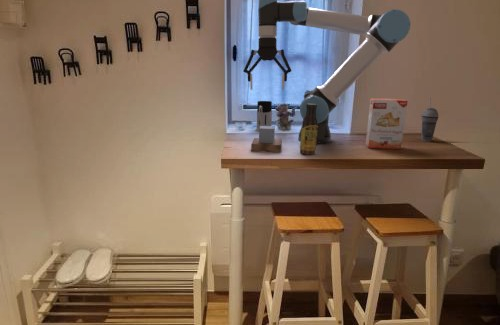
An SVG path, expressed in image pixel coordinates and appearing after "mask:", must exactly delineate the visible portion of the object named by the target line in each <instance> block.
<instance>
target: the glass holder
mask: <svg viewBox="0 0 500 325" xmlns="http://www.w3.org/2000/svg"><path fill="white" fill-rule="evenodd" d="M272 107H273V102H272V101H270V100H258V101H257V108H256V109H257V110H256V129H255V130H256V131H257V132H259V128H260V126H272V124H273V123H272V122H273V121H272V120H273V119H272V118H273V110H272V109H273V108H272Z"/></svg>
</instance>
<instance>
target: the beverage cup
mask: <svg viewBox="0 0 500 325" xmlns="http://www.w3.org/2000/svg"><path fill="white" fill-rule="evenodd" d="M428 99H429V101H428V102H429V104H428V107H427V108H425V109H424V110H423V111H422V114H421V132H420V134H421V139H420V140H421V141H422V142H426V143H427V142H429V143H430V142H433V137H434V133H435V130H436V125H437V123H438V119H439V112H438V109H436V108H434V107H431V103H432V102H431V100H432V98H431V97H429V98H428Z"/></svg>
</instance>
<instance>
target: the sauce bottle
mask: <svg viewBox="0 0 500 325" xmlns="http://www.w3.org/2000/svg"><path fill="white" fill-rule="evenodd" d="M306 107H307V110H306V116H305V118H304V120H303V119H302V122H301V123H302V125H301V127H302V131H301V141H300V145H299V151H300V154H302V155H309V156H310V155H311V156H312V155H315V153H316V151H317V150H316V149H317V143H316V140H317V129H318V124H317V118H316V108H317V104H307V105H306Z"/></svg>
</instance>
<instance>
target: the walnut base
mask: <svg viewBox="0 0 500 325" xmlns="http://www.w3.org/2000/svg"><path fill="white" fill-rule="evenodd" d="M282 140H283V138H274V143H259V137H254V138H253V140H252V142H251V145H250V146H251V147H250V148H251V149H250V150H251V152H259V151H266V152H267V153H281V152H282V143H283V141H282ZM266 152H265V153H266Z"/></svg>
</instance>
